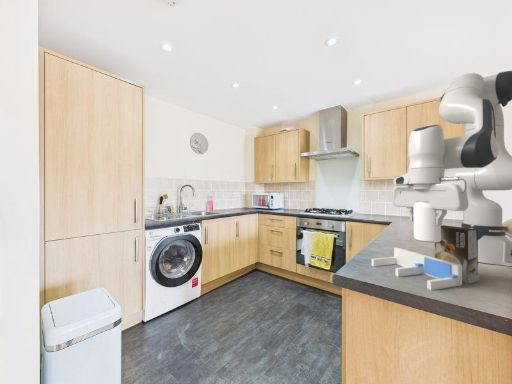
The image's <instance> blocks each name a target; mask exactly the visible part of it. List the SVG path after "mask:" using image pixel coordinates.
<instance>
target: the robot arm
mask: <svg viewBox="0 0 512 384" xmlns="http://www.w3.org/2000/svg"><path fill="white" fill-rule="evenodd" d="M439 101H440V102H439V106H438V114H439V116H440V118H441V119H443V121H445V122H447V123H450V124H453V125H454V124H455V125H461V124H465V125H464V135H461V136H454V137H449V138H444V137H445V136H444V130H443V127H442V125H440V124H432V125H427V126H422V127H418V128H415V129H413V130H412V131H411V132H410V135H409V140H408V147H407V149H408V150H407V152H408V153H407V154H408V155H407V157H408V160H409V164H408V168H407V172H406V173H405V174H403V175H400V176H398V177H396V178H394V179H393V185H394V187H393V189H392V198H391V199H392V204H393V205H394V207H400V208H406V212H407V213H408V216H409V218H410V219H409V221H410V222H413V223H414V204H415V201H420V202H429V204H430V206H431V207H432V209H436V213H439V214H438V215H437V217H436V225H443V219H444V218H445V217H446V216H447V214H448V211H454V212H456V211H457V212H459V211H460V212H462V222H461V225H460V227H463V228H471V229H478V263H482V264H490V265H497V266H498V265H499V266H505V267H506V266H507V267H511V266H512V241H511V239H509V238H508V237H507V233H506V232H509V231H510V227H509V226H504V225H503V208H502V206H501V205H500V204H499V203H498V202H497V201H494V200H492V199H489V198H487V197H486V196H485V195H484V192H483V191H511V190H512V155H511V154H510V153H509V151H508V150H507V148H506V144H505V118H504V112H503V109H502V107H503V108H505V107H506V106H507V105H509V102H511V101H512V70H507V71H501V72H498V73H497V74H492V75H488V76H485V77H483V76H482V75H481V74H479V73H475V72H472V73H465V74H462V75H460V76H458V77H456V79H454V81H453V82H451V83H450V84H449V87H448V88H447V89H446V91H445V92H444V93H443V94H442V95H441V97H440V100H439Z"/></svg>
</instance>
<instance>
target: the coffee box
mask: <svg viewBox="0 0 512 384" xmlns="http://www.w3.org/2000/svg"><path fill="white" fill-rule="evenodd" d="M434 258H437V259H441V260H444V261H448V262H452V263H455V264H459V265H462V283H466V284H471V283H474V282H478V281H479V262H478V229H471V228H463V227H461V226H456V225H455V226H454V225H446V224H445V225H444V224H442V225H441V241H440V242H438V243H434Z"/></svg>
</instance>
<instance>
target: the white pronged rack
mask: <svg viewBox="0 0 512 384" xmlns="http://www.w3.org/2000/svg"><path fill="white" fill-rule="evenodd" d="M389 265H398V266H401V267H395V276H396V277H398V278H399V277H407V276H415V275H426V276H428V277H432V278H434V279H428V280H426V286H427V287H426V289H427V290H430V291H434V290H440V289H447V288H454V287H460V286H463V282H462V265H459V264H455V263H452V262H448V261H444V260H441V259H437V258H435V256H429V255H426V254H423V253H419V252H415V251H411V250H409V249H408V250H407V249H404V248H402V247H401V248H400V247H396V246H395V247H393V256H388V257H378V258H377V257H376V258H371V266H372V267H381V266H389Z"/></svg>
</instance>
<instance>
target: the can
mask: <svg viewBox="0 0 512 384" xmlns="http://www.w3.org/2000/svg"><path fill="white" fill-rule="evenodd" d="M438 214H439V213H436V209H432V207H431V206H430V204H429V202H420V201H415V204H414V222H413V238H414V240H415V241H416V242H417V241H418V242H423V243H431V244H432V243H434V244H435V243H438V242H440V241H441V225H436V217H437V215H438Z"/></svg>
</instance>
